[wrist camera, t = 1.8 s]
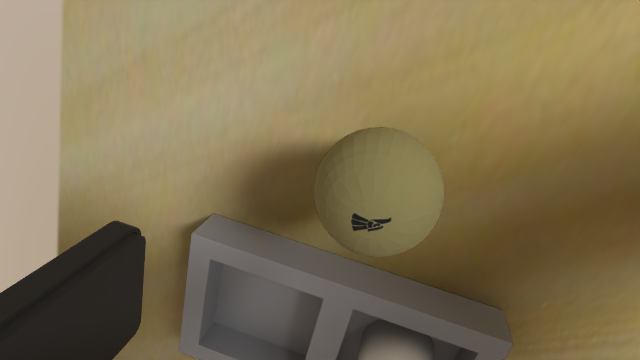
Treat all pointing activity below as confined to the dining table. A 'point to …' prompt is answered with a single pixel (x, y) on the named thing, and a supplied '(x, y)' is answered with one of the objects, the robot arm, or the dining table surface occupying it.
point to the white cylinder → (394, 343)
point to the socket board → (314, 303)
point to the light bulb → (379, 192)
